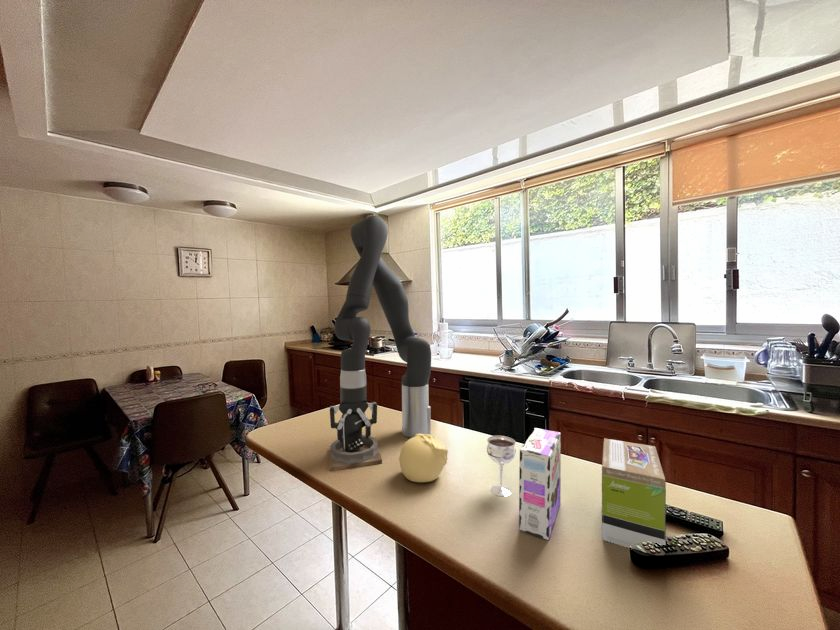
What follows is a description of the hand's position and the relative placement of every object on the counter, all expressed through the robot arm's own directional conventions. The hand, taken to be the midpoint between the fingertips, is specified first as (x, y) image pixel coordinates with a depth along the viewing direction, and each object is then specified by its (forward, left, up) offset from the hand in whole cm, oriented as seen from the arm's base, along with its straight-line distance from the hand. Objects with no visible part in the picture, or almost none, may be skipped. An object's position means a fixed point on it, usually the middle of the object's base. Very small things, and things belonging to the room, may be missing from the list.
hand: (354, 439), depth 97 cm
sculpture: (-16, +17, -5) cm, 24 cm away
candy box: (-35, +40, -5) cm, 54 cm away
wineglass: (-32, +29, -5) cm, 44 cm away
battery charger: (0, 0, -3) cm, 3 cm away
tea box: (-50, +48, -5) cm, 70 cm away
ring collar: (0, 0, -5) cm, 5 cm away
